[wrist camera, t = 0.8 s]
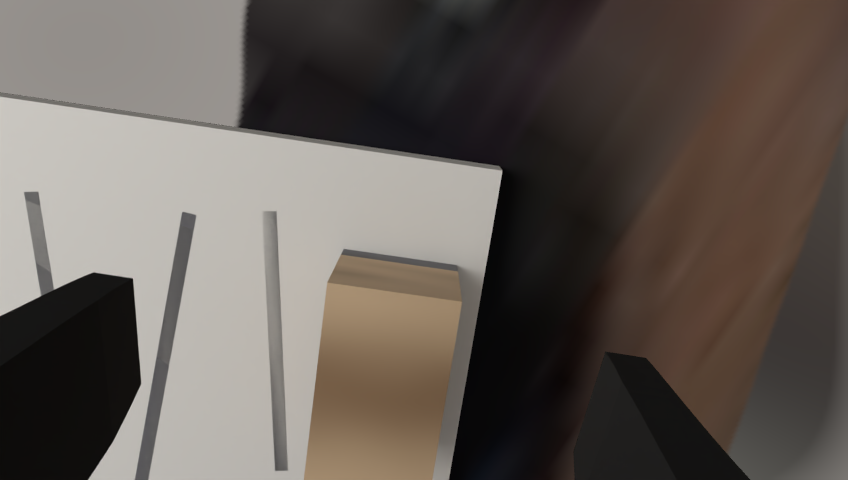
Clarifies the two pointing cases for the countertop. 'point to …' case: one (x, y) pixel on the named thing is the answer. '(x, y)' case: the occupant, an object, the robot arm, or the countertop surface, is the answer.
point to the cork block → (382, 368)
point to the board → (225, 266)
